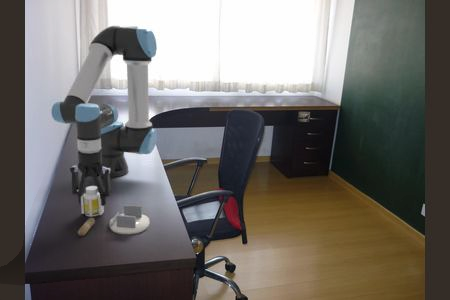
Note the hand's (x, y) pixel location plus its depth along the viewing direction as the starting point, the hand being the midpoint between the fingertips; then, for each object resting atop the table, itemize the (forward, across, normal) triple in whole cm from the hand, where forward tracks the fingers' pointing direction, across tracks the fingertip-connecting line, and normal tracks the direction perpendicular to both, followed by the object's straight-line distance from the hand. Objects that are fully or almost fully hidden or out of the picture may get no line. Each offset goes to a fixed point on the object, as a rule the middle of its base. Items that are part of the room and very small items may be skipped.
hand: (92, 212), depth 131 cm
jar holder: (0, +15, -6) cm, 16 cm away
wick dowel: (0, +1, -11) cm, 11 cm away
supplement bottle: (+1, 0, 0) cm, 1 cm away
